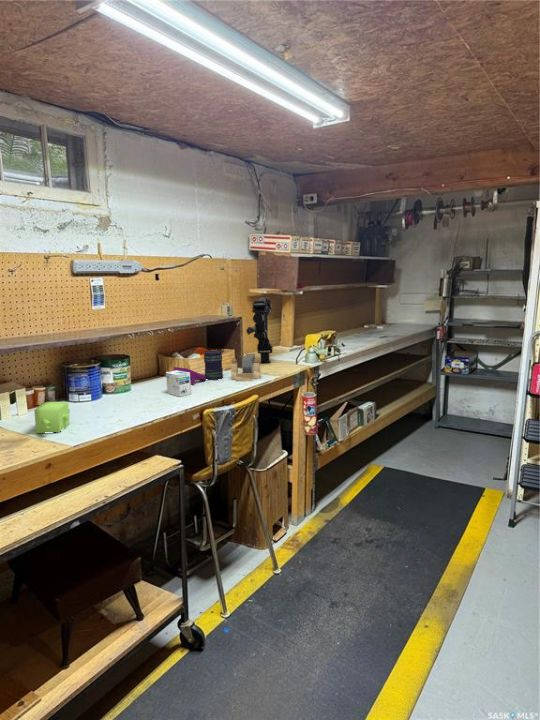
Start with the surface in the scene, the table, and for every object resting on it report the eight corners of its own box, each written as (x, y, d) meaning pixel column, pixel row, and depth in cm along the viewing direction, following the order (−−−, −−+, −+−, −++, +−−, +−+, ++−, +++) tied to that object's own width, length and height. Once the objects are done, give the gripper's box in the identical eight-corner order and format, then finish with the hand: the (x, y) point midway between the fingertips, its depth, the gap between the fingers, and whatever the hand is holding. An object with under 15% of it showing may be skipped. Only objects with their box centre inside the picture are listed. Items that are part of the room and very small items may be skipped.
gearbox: (59, 438, 166) (57, 412, 164) (30, 438, 165) (28, 413, 164) (76, 422, 184) (75, 398, 182) (50, 422, 183) (48, 399, 181)
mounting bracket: (193, 390, 254) (169, 382, 240) (196, 375, 256) (174, 366, 241) (205, 392, 249) (182, 384, 234) (209, 377, 250) (187, 368, 236)
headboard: (232, 379, 252) (231, 357, 250) (260, 378, 251) (259, 357, 249) (230, 381, 247) (229, 359, 245) (259, 381, 245) (258, 359, 243)
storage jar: (215, 381, 248) (214, 353, 246) (201, 379, 254) (199, 352, 251) (226, 377, 257) (225, 350, 254) (212, 376, 262) (211, 349, 259)
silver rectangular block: (246, 370, 275) (246, 353, 273) (255, 370, 274) (254, 353, 273) (242, 378, 255) (241, 359, 253) (252, 377, 255) (251, 359, 253)
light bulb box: (191, 394, 221) (190, 372, 220) (180, 397, 217) (178, 374, 215) (178, 391, 229) (176, 369, 227) (166, 394, 224) (165, 372, 222)
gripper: (248, 320, 287) (249, 345, 290) (244, 323, 269) (245, 350, 272) (266, 320, 286) (267, 345, 289) (264, 323, 268) (264, 350, 271)
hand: (261, 347), depth 280 cm, fingers closed
